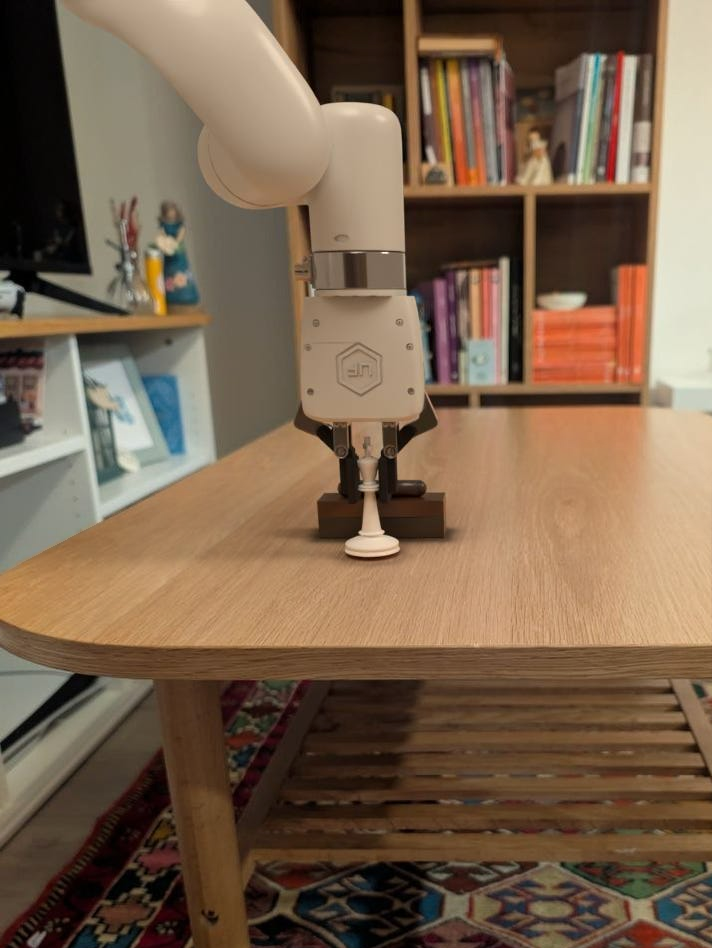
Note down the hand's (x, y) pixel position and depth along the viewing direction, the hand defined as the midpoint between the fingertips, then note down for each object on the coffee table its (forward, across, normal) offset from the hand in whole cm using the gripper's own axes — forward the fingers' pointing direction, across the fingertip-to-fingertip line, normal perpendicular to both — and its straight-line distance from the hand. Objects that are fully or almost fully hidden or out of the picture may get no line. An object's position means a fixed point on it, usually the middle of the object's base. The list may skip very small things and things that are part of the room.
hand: (370, 499), depth 83 cm
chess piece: (+5, 0, 0) cm, 5 cm away
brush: (+5, 0, +8) cm, 9 cm away
